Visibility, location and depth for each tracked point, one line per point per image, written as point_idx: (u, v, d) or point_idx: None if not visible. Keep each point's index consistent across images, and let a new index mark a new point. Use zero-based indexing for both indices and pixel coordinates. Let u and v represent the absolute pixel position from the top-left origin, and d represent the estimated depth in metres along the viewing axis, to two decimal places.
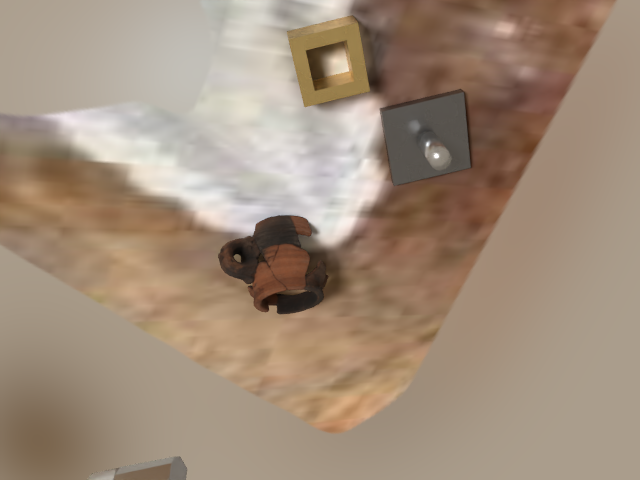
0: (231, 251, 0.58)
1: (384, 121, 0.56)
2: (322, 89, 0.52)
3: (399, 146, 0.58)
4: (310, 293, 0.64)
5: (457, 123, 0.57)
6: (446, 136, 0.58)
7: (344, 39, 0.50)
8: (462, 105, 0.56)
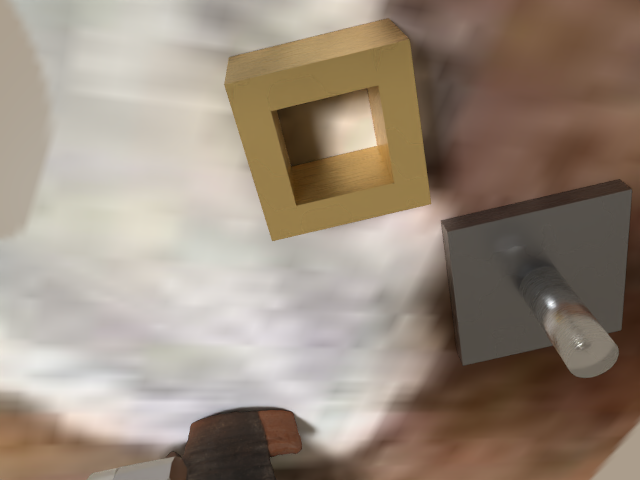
0: None
1: (452, 250, 0.26)
2: (314, 200, 0.21)
3: (480, 296, 0.27)
4: None
5: (607, 251, 0.26)
6: (581, 275, 0.27)
7: (372, 83, 0.19)
8: (623, 215, 0.26)
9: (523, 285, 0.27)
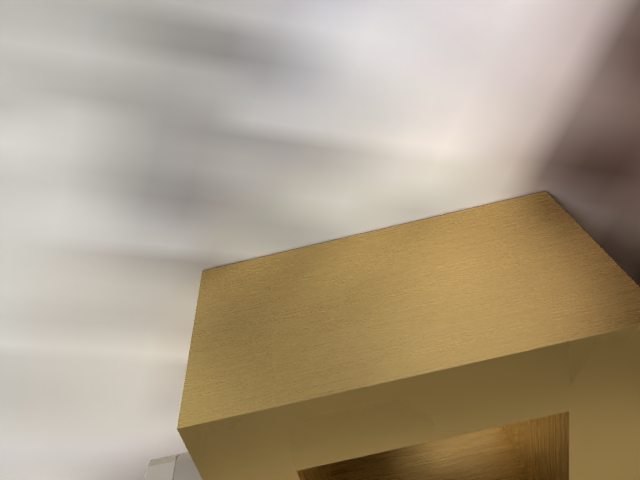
0: None
1: None
2: None
3: None
4: None
5: None
6: None
7: (555, 407, 0.07)
8: None
9: None
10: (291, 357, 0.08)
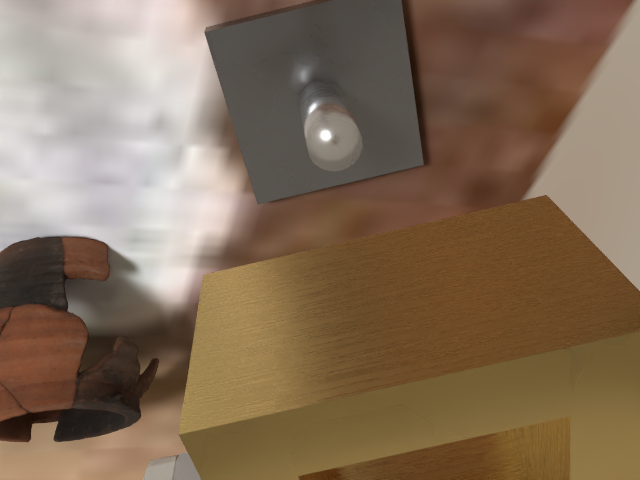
0: None
1: (215, 56, 0.24)
2: None
3: (259, 116, 0.26)
4: None
5: (388, 63, 0.25)
6: (365, 93, 0.25)
7: (556, 412, 0.07)
8: (396, 17, 0.24)
9: (300, 101, 0.25)
10: (292, 362, 0.08)
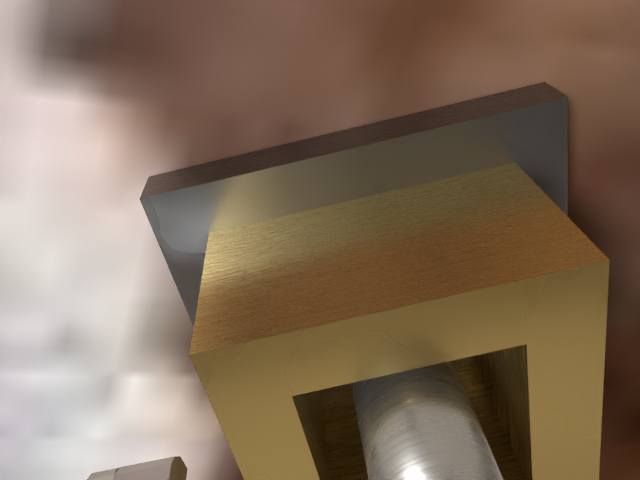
0: None
1: (166, 243, 0.11)
2: None
3: None
4: None
5: None
6: None
7: (514, 340, 0.09)
8: (553, 162, 0.11)
9: None
10: (287, 298, 0.09)
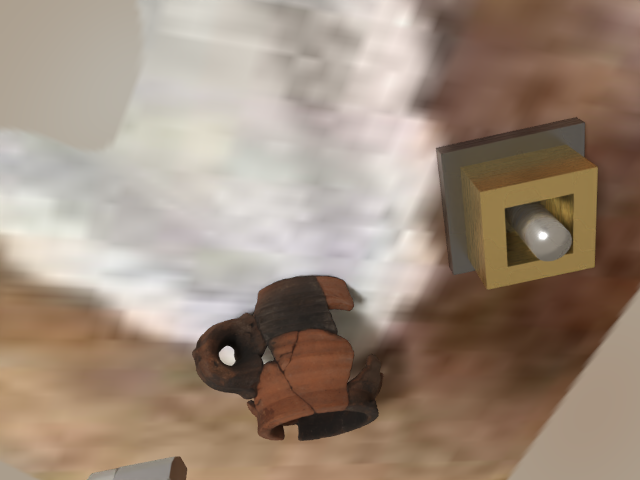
0: (214, 346, 0.33)
1: (444, 170, 0.33)
2: (519, 263, 0.32)
3: None
4: None
5: None
6: None
7: (570, 192, 0.30)
8: (579, 144, 0.33)
9: None
10: (502, 180, 0.30)
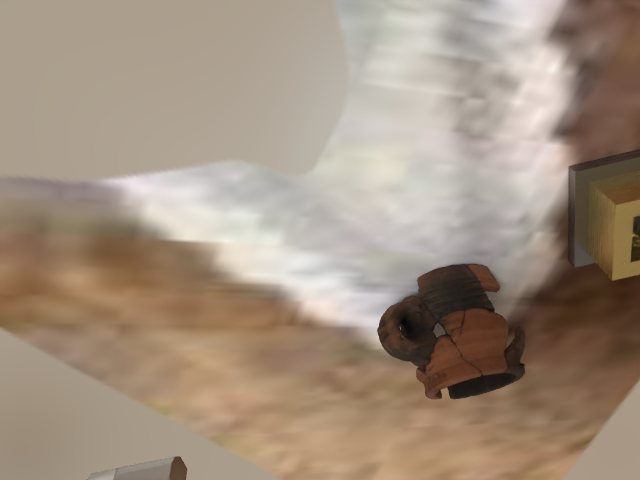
0: (397, 324, 0.41)
1: (577, 184, 0.40)
2: None
3: None
4: None
5: None
6: None
7: None
8: None
9: None
10: (631, 194, 0.38)
